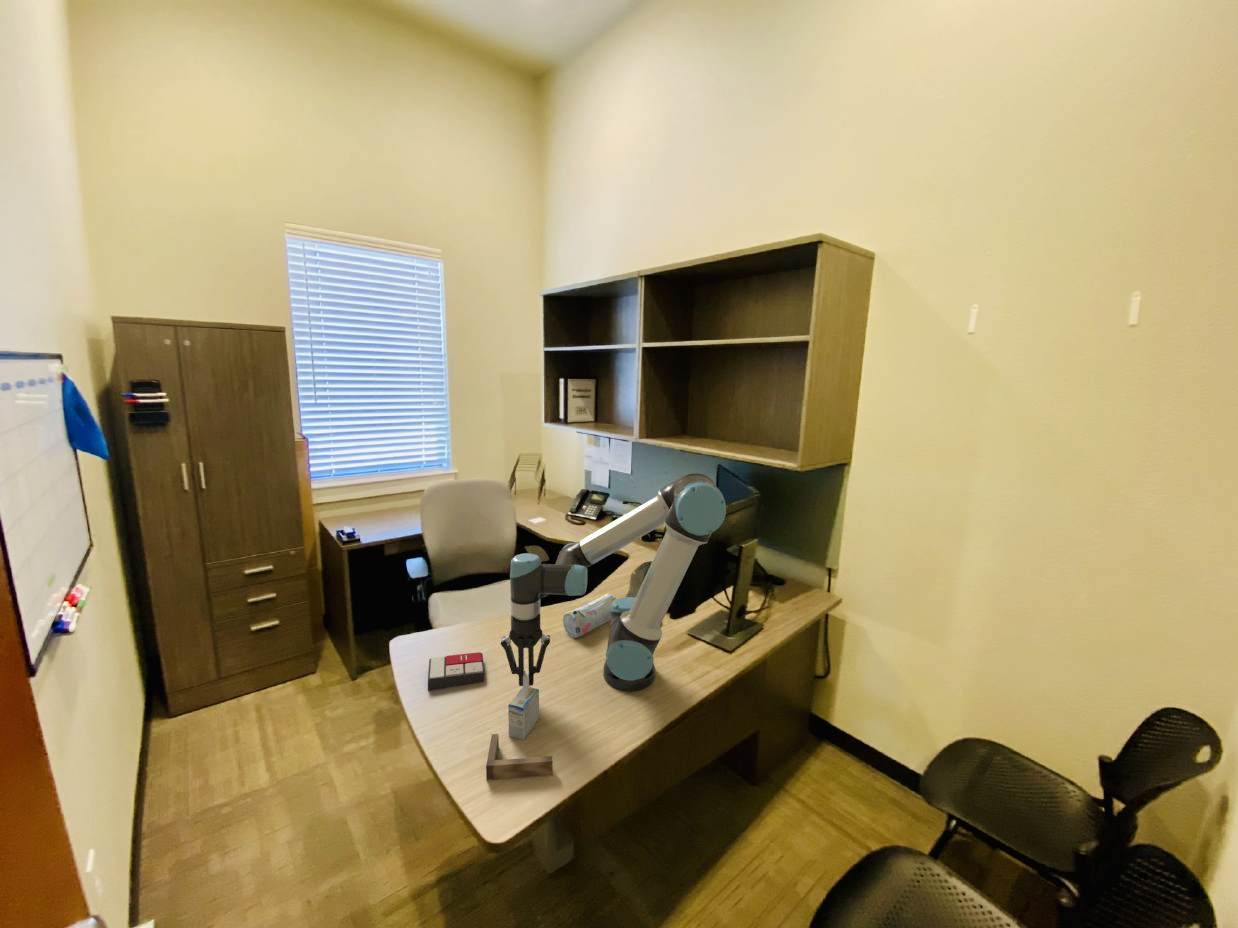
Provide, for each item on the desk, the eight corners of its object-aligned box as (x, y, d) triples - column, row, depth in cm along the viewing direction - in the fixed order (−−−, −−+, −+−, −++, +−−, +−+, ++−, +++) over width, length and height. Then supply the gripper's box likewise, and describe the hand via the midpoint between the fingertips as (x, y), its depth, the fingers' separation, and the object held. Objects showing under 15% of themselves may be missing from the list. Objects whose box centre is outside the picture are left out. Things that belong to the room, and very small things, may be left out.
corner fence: (552, 743, 116) (552, 729, 116) (552, 775, 107) (552, 761, 107) (492, 747, 115) (491, 734, 114) (486, 780, 105) (486, 765, 105)
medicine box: (523, 715, 126) (523, 684, 124) (539, 719, 125) (539, 688, 123) (508, 736, 118) (507, 704, 117) (524, 740, 117) (524, 708, 116)
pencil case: (577, 643, 160) (577, 616, 159) (560, 633, 166) (560, 607, 164) (620, 620, 176) (621, 595, 174) (603, 612, 181) (603, 588, 180)
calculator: (484, 670, 139) (427, 677, 134) (484, 684, 139) (427, 691, 134) (482, 650, 149) (429, 655, 144) (482, 663, 149) (429, 669, 145)
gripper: (551, 605, 131) (551, 685, 136) (501, 607, 130) (503, 687, 134) (550, 619, 124) (550, 703, 128) (498, 621, 123) (499, 706, 127)
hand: (526, 695), depth 131 cm, fingers closed
